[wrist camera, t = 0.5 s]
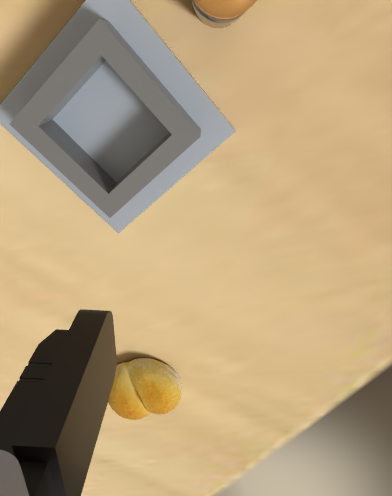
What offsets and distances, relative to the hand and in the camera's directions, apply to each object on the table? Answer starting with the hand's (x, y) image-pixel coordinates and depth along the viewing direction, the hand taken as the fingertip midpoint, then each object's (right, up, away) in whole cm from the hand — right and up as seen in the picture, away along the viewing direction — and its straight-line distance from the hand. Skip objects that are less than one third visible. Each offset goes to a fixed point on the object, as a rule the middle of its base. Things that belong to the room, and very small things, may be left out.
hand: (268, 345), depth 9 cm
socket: (-8, +13, +22) cm, 27 cm away
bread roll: (-8, -14, +36) cm, 40 cm away
